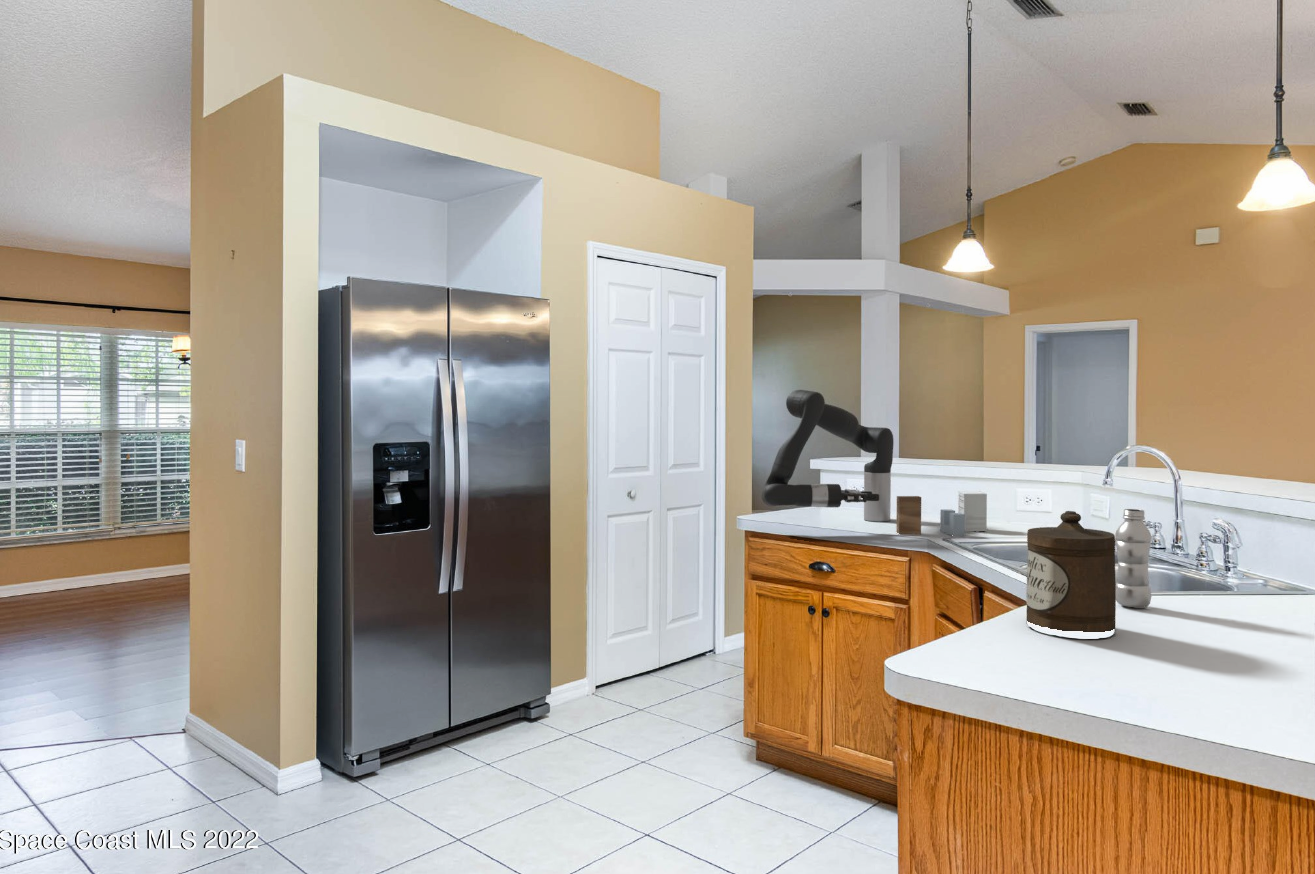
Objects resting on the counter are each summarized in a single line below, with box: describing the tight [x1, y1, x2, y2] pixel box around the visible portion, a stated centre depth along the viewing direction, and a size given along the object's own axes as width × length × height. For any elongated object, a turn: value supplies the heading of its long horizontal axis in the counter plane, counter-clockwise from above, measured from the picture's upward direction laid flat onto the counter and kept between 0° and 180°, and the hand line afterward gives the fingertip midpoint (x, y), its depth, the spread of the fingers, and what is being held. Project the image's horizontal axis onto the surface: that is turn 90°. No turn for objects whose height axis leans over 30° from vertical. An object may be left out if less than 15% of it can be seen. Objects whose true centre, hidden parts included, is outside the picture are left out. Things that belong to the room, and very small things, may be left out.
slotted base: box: [939, 508, 966, 537], centre depth 266 cm, size 12×4×7 cm, turn 0°
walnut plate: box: [895, 495, 922, 535], centre depth 266 cm, size 3×7×12 cm, turn 90°
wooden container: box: [1025, 510, 1117, 632], centre depth 153 cm, size 15×15×22 cm
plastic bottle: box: [1114, 508, 1153, 609], centre depth 169 cm, size 6×7×20 cm
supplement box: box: [957, 490, 988, 533], centre depth 272 cm, size 7×7×13 cm
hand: (875, 496), depth 265 cm, fingers open, 8 cm apart
